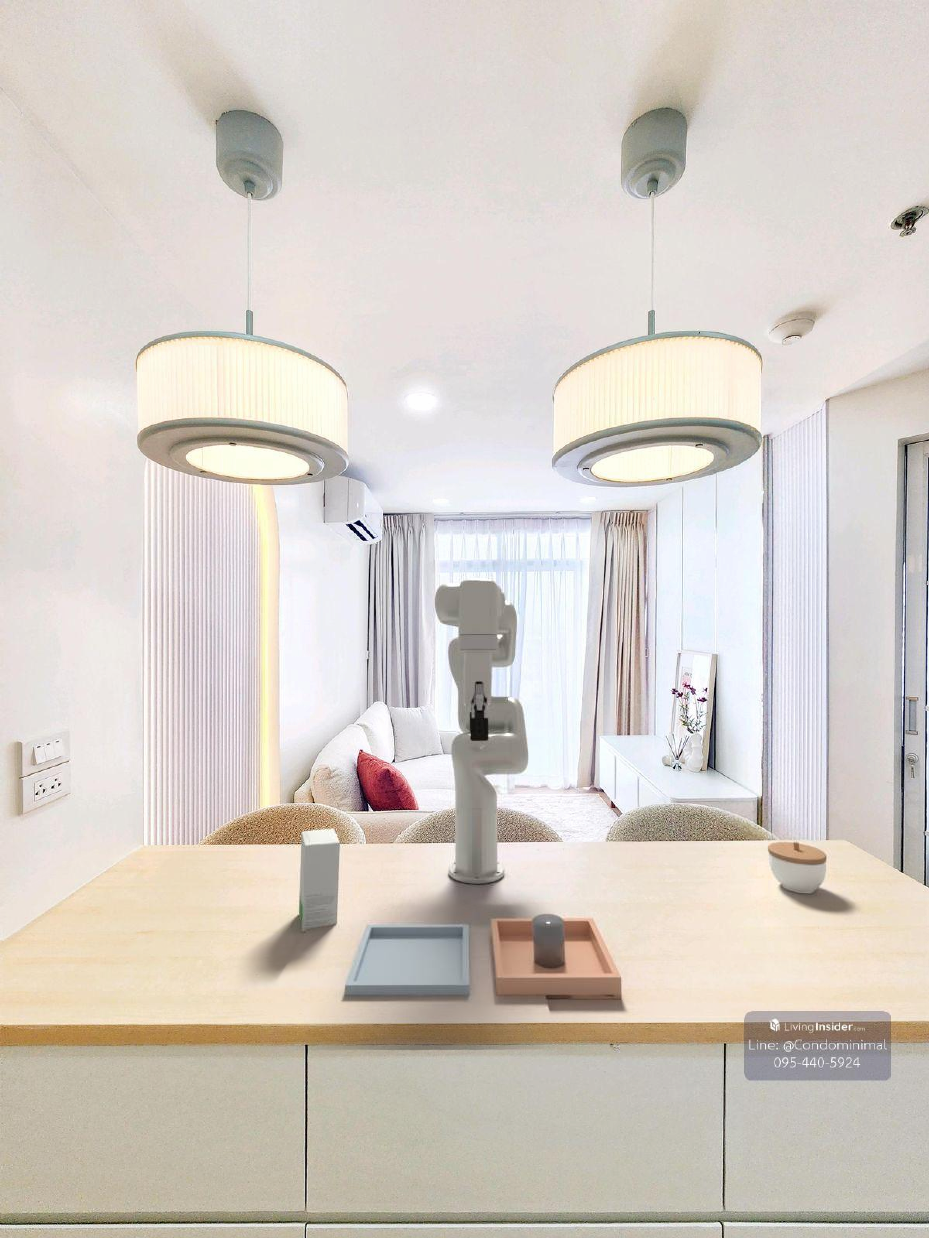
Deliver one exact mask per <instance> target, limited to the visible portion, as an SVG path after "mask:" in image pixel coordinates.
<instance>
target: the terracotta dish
mask: <svg viewBox="0 0 929 1238" xmlns="http://www.w3.org/2000/svg"><path fill="white" fill-rule="evenodd" d="M533 918H534V917H533ZM533 918H525V917H524V918H523V917H522V918H521V917H520V918H519V917H517V918H514V917H513V918H501V917H500V918H490V932H491V933H490V935H491V944H492V945H491V946H492V954H493V965H494V975H495V977H494V978H495V986H496V987H495V989H496V995H497V996H545V1000H583V999H584V1000H615V999H617V1000H622V997H623V996H622V976H621V974H620V971H619V970H618V968H617V965H616V964H615V962H614V959H613V956H612V955H611V953H610V951H609V949H608V948H607V945H606V943H605V940H604V939H603V936H602V935H601V932H600V930H599V928H598V926H597V924H596V922H595V920H594V918H593V917H591V918H589V917H586V918H585V917H584V918H580V917H576V918H575V917H573V918H571V917H569V918H568V917H567V918H566V917H565V918H562V917H561V918H562V919H563V921H564V941H565V963H564V964H563V965H562V966H560V967H558V968H544V967H541V966H539V965H537V964H536V963H535V961H534V949H533V924H532V920H533Z"/></svg>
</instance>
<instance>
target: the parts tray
mask: <svg viewBox="0 0 929 1238" xmlns="http://www.w3.org/2000/svg"><path fill="white" fill-rule="evenodd" d="M469 928H470V927H469V924H467V923H465V924H463V923H461V924H455V923H454V924H453V923H452V924H450V923H449V924H448V923H447V924H446V923H445V924H433V923H432V924H366V925H365V927H364V931H363V933H362V937H361V938H360V939H361V940H360V943H359V945H358V947H357V951H356V953H355V957H354V959H353V963H352V965H351V968H350V969H349V973H348V975H347V978H346V981H345V984H344V996H346V997H348V996H349V997H351V996H352V997H353V996H354V997H356V996H357V997H358V996H360V997H361V996H362V997H363V996H368V997H369V996H373V997H375V996H379V997H380V996H383V997H384V996H387V997H388V996H389V997H390V996H393V997H395V996H470V945H469V944H470V943H469V942H470V941H469V940H470V938H469V937H470V936H469V933H470V932H469V931H470V930H469Z"/></svg>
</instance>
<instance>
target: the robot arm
mask: <svg viewBox="0 0 929 1238" xmlns="http://www.w3.org/2000/svg"><path fill="white" fill-rule="evenodd" d="M434 608H435V613H436V616H437V619H438V621H439V622H440V623H441V624H442V625H446V626H447V625H448V626H450V627H451V626H452V627H457V628H458V636H457V637H454V638H453V639H451V641H450V642H449V644H448V648H447V658H448V663H449V669H450V672H451V673H450V674H451V676H452V678H453V680H454V683H455V685H456V688H457V722H458V726H459V729H460V731H461V732H462V733H459V734H458V735H457V736H455V737H454V738H453V740H452V743H451V751H450V752H451V760H452V766H453V776H454V791H455V792H454V794H455V801H454V803H455V813H454V815H455V816H454V820H455V825H454V826H455V829H454V830H455V831H454V833H455V838H454V839H455V841H454V842H455V847H454V849H455V850H454V851H455V861H453V862H452V863H451V864H449V866H448V875H449V876H450V877H451V878H452V879H453V880H456V881H457V882H460V883H465V884H474V885H475V884H476V885H478V884H479V885H480V884H488V883H489V884H490V883H493V882H496V881H499V880H500V879H501V878H503V877H504V875H505V867H504V865H503V864H502V863H501V862H499V861H498V795H497V791H496V789H495V787H494V785H493V784H492V783H491V782H490V781H489V779H488V778H487V777H486V776H490V775H519V774H522V773H524V772H525V771H526V769H527V767H528V764H529V749H528V748H529V747H528V746H529V745H528V739H527V732H526V731H527V730H526V721H525V714H524V709H523V706H522V703H521V702H520V701H519V699H517V698H515V697H513V696H493V695H492V683H493V682H492V678H493V674H492V672H493V668H506V667H507V668H508V667H510V666H511V665H513V663H514V661H515V659H516V649H517V648H516V646H517V634H518V633H517V630H518V616H517V610H516V607H515V606H514V605H513V603H512V602H510V601H507V600H506V595H505V592H504V591H503V590H502V588H501V586H499V585H498V584H497V583H496V582H495V581H494V580H492V579H487V578H471V579H464V580H462V581H461V582H460V583H443V584H441V585H440V586H438V587H437V590H436V592H435V596H434Z"/></svg>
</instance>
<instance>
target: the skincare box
mask: <svg viewBox="0 0 929 1238" xmlns="http://www.w3.org/2000/svg"><path fill="white" fill-rule="evenodd" d="M300 837H301V839H300V840H301V842H300V843H301V844H300V869H299V870H300V871H299V872H300V873H299V877H300V878H299V896H298V897H299V900H298V903H299V904H298V915H299V921H300V927H301V931H302V933H306V932H307V930H309V929H315V928H322V927H326V926H333V925H337V924H338V909H339V908H338V907H339V906H338V903H339V901H338V899H339V878H340V877H339V876H340V875H339V874H340V852H341V851H340V849H341V846H340V845H341V844H340V843H341V842H340V840H339V838H338V834H337V833H336V831H335V829H334V828H332V827H331V828H325V829H322V828H321V829H315V830H314V829H313V830H306V831H301V836H300Z"/></svg>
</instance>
